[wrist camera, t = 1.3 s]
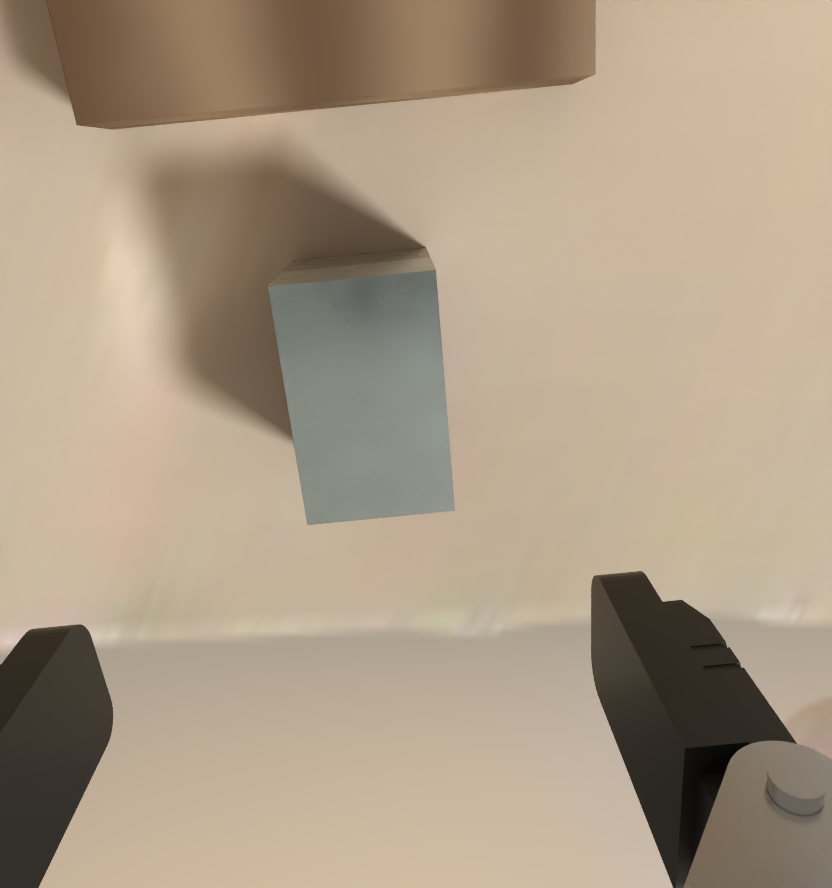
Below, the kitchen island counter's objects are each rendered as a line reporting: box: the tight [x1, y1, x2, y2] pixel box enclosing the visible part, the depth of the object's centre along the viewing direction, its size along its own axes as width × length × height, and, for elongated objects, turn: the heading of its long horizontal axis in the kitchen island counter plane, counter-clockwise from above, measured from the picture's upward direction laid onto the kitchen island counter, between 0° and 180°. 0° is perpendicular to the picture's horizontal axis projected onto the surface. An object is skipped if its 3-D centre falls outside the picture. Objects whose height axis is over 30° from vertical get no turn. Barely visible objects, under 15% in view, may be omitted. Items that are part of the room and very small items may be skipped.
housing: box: [268, 248, 455, 525], centre depth 25 cm, size 5×8×6 cm, turn 5°
